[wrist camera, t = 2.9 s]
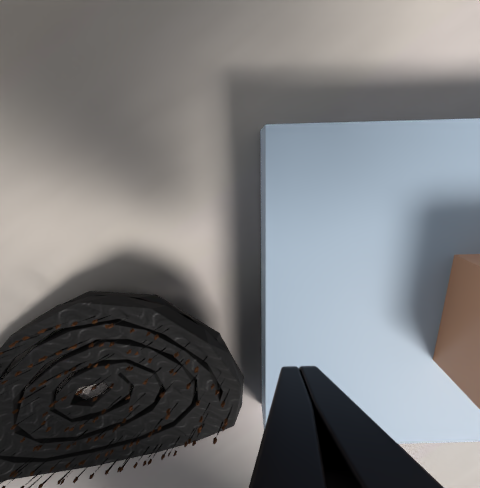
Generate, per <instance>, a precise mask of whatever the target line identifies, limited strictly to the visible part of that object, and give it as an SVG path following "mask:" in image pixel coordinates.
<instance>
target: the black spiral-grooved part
mask: <svg viewBox="0 0 480 488" xmlns="http://www.w3.org/2000/svg"><path fill="white" fill-rule="evenodd" d="M68 302H69V303H68ZM68 302H66V303H64V304H62V305H58V306H56V307H55V308H53V309H51V310H50V311H48V312H46V313H45V314H43V315H42V316H40V317H38V318H37V319H35V320H34V321H32V322H30V323H29V324H27V325H26V326H24V327H23V328H21V329H20V330H18V331H17V332H16V333H14V334H13V335H11V337H10V338H9V339H8V340H7V341H6V342H5V343H4V345H3V346H2V347H1V348H0V379H1V377H2V376H3V375H4V373H5V372H6V370H7V369H8V367H9V366H10V364H11V363H12V361H13V360H14V359H15V358H16V357H17V356H18V355H20V354H21V353H22V352H24V351H25V350H27V349H28V348H30V347H31V346H33V345H34V344H36V343H37V342H39V341H40V340H42V339H43V338H45V337H46V336H47V335H49V334H50V333H52V332H53V331H55V330H57V329H62V328H64V329H62V330H60V332H59V331H58V332H56V333H54V334H53V335H52V336H50V337H49V338H47V339H46V340H45V341H43V342H42V343H40V344H39V345H37V346H36V347H34V348H33V349H32V350H31V351H30V352H29V353H28V354H27V355H26V356H25V357H24V358H23V359H22V360H21V361H20V362H19V363H18V364H17V365H16V366H15V367H14V368H13V369H12V370H11V371H10V372H9V373H8V374H7V375H6V376H5V377H4V378H3V379H2V380H1V382H0V482H1V483H2V482H3V481H6V480H10V479H13V480H14V479H16V478H22V477H28V476H35V475H36V476H37V475H41V474H47V473H53V472H60V471H66V470H70V471H71V470H72V469H78V468H85V467H91V466H96V465H102V464H105V463H110V462H114V463H115V462H116V461H119V460H124V459H126V460H127V459H128V458H129V459H130V458H133V457H138V456H141V457H142V456H143V455H147V454H152V453H155V454H156V453H157V452H159V451H163V450H168V449H170V448H172V449H173V448H174V447H177V446H181V445H184V446H185V447H186V446H187V445H188V444H190V443H192V442H193V444H192V446H194V445H195V444H196V441H198V440H200V439H203V438H205V437H208V436H210V435H213V434H215V433H217V432H218V433H219V432H220V431H222V430H223V431H224V430H225V429H227V428H230V427H232V426H234V424H235V422H236V419H237V416H238V414H239V411H240V408H241V406H242V394H243V375H242V373H241V371H240V369H239V367H238V366H237V364H236V362H235V360H234V359H233V357H232V355H231V353H230V351H229V350H228V348H227V346H226V344H225V342H224V341H223V339H222V337H221V335H220V333H218V332H216V331H215V330H213V329H212V328H210V327H208V326H207V325H205V324H203V323H202V322H200V321H198V320H197V319H195V318H193V317H192V316H190V315H189V314H187V313H185V312H184V311H182V310H180V309H179V308H177V307H175V306H174V305H172V304H170V303H169V302H167V301H165V300H164V299H162V298H161V297H159V296H157V295H145V294H127V293H109V292H92V291H89V292H87V293H85V294H83V295H81V296H79V297H77V298H75V299H72V300H70V301H68ZM97 339H98V340H97ZM95 340H96V341H95ZM90 342H91V343H90ZM88 343H89V344H88ZM71 351H72V352H71ZM69 352H70V353H69ZM67 353H68V354H67ZM65 354H67V355H65ZM62 355H65V356H64V357H62V358H60V359H59V360H57V361H56V362H54V363H53V364H52V365H51V366H49V367H48V368H47V369H46V370H45V371H44V372H43V373H42V374H40V375H39V376H38V377H37V378H36V379H35V380H34V381H33V382H32V383H31V384H30V385H29V387H28V388H27V389H26V390H25V392H24V388H25V386H26V385H27V384H28V383H29V382H30V380H31V379H32V378H33V377H34V376H35V375H36V374H37V373H38V371H39V370H40V369H41V368H42V367H43V366H44V365H45V364H46V363H48V362H50V361H52V360H54V359H56V358H58V357H60V356H62ZM79 369H81V370H79ZM77 370H79V371H78V372H76V373H75V374H74V375H73V376H72V377H71V379H70V380H69V381H68V382H67V383H66V384H65V386H64V387H63V388H62V389H61V390H60V391H59V392H58V394H57V395H55V391H56V389H57V388H58V386H59V385H60V383H61V382H62V381H63V380H64V379H65V378H66V377H67V376H68V375H69V374H70V373H72V372H74V371H77ZM101 382H105V383H106V384H107V385H108V386H109V388H108V389H106V390H107V391H106V390H105V391H106V392H105V391H104V392H105V393H104V392H103V393H104V394H102V393H101V394H100V395H98V396H95V397H93V398H90V399H87V400H84V399H82V398H80V397H79V396H77V395H78V394H79V393H82V391H83V390H84V388H87V386H90V385H93V384H97V383H98V384H97V385H99V384H100V383H101ZM196 382H197V388H198V390H197V392H196V393H195V391H196ZM162 384H163V386H164V387H163V388H162V389H161V386H162ZM97 385H95V386H93V387H92V389H91V390H93V389H95V388H96V386H97ZM132 385H134V387H133V389H132V390H131V391H130V389H131V387H132ZM84 386H86V387H84ZM80 387H84V388H83V389H81V390H80V391H78V392H77V393H76V391H77V389H78V388H80ZM160 389H161V390H160ZM159 390H160V391H159ZM131 392H132V393H131ZM158 392H159V393H158ZM75 393H76V394H75ZM130 393H131V395H129V394H130ZM23 394H24V395H23ZM194 394H195V395H194ZM126 396H127V397H126ZM125 397H126V398H125ZM155 400H156V401H155ZM154 401H155V402H154ZM217 435H218V434H217ZM216 437H217V436H216ZM216 437H215V438H214V440H213V443H214V444H215V443H216V442H217V439H216ZM166 452H167V451H166ZM166 452H165V453H164V455H162V456H161V459H163V458H164V457H165V454H166ZM170 453H171V452H170ZM170 453H169V454H168V456H169V455H170ZM176 453H177V451H176V450H175V453H174V455H173V457H174V456H175V455H176ZM150 456H151V455H150ZM150 456H149V457H150ZM153 457H154V456H153ZM129 459H128V460H129ZM140 459H141V458H140ZM140 459H139V460H140ZM128 460H127V462H128ZM147 460H148V459H147ZM125 462H126V461H125ZM125 462H124V463H125ZM127 462H126V463H127ZM151 462H152V459H150V460H149V462H148V464H150V463H151ZM114 463H113V465H114ZM124 463H123V464H124ZM126 463H125V464H126ZM125 464H124V465H123V466H122V467H119V468H118V471H117V472H119V471H120V472H121V471H122V470H123V467H124V466H125ZM113 465H112V466H113ZM144 465H146V461H144V464H143V466H144ZM112 466H111V467H112ZM136 466H137V462H136V464H135V465H134V468H136ZM111 467H110V468H109V469H108V470H106V472H105V475H106V474H108V471H109V470H110V469H111ZM99 468H100V467H99ZM99 468H98V469H99ZM98 469H97V470H98ZM97 470H96V471H97ZM70 471H69V472H70ZM84 471H85V470H84ZM84 471H83V472H84ZM96 471H95V472H96ZM69 472H68V473H69ZM83 472H82V473H83ZM68 473H67V474H68ZM82 473H81V474H82ZM53 474H54V473H53ZM53 474H52V475H53ZM67 474H66V475H67ZM81 474H80V475H81ZM52 475H51V476H52ZM66 475H65V476H66ZM80 475H79V476H80ZM93 475H94V473H93V474H92V475H90V478H89V479H91V478H92V477H93ZM36 476H35V477H36ZM51 476H50V477H51ZM65 476H64V477H65ZM79 476H78V477H79ZM35 477H33V478H35ZM41 477H42V476H41ZM41 477H40V478H41ZM50 477H49V478H50ZM64 477H63V478H64ZM78 477H76V478H75V479H74V481H73V482H74V483H75V482H76V481H77V480H78ZM33 478H32V479H33ZM40 478H39V479H40ZM49 478H48V479H49ZM63 478H61V479H60V480H59V481H58V484H60V482H61V484H62V483H63V482H64V480H65V479H63ZM32 479H31V480H32ZM39 479H38V480H39ZM48 479H47V480H48ZM62 479H63V480H62ZM31 480H30V481H31ZM38 480H37V481H38ZM47 480H46V481H47ZM61 480H62V481H61ZM30 481H29V482H30ZM37 481H36V482H37ZM46 481H44V482H43V483H42V484H40V485H39V487H38V488H41V487H42V486H43V484H44V483H45V482H46ZM29 482H28V483H29ZM1 483H0V484H1ZM9 483H10V482H9ZM9 483H8V484H9ZM33 484H34V483H33ZM33 484H32V485H33ZM61 484H60V485H61ZM32 485H31V486H32ZM31 486H30V487H31ZM5 487H6V486H3V487H2V488H5ZM30 487H29V488H30ZM21 488H24V486H22V487H21Z"/></svg>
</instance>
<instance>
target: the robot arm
mask: <svg viewBox="0 0 480 488" xmlns="http://www.w3.org/2000/svg"><path fill="white" fill-rule="evenodd" d="M249 488H444V487H443V486H442V485H440V484H439V483H438V482H437V481H436V480H435V479H434V478H433V477H432V476H431V475H430V474H429V473H428V472H427V471H426V470H425V469H424V468H423V467H422V466H421V465H420V464H418V463H417V462H416V461H415V460H414V459H413V458H412V457H411V456H410V455H409V454H408V453H407V452H406V451H405V450H404V449H403V448H402V447H401V446H400V445H399V444H397V443H396V442H395V441H394V440H393V439H392V438H391V437H390V436H389V435H388V434H387V433H386V432H385V431H384V430H383V429H382V428H381V427H380V426H379V425H378V424H376V423H375V422H374V421H373V420H372V419H371V418H370V417H369V416H368V415H367V414H366V413H365V412H364V411H363V410H362V409H361V408H360V407H359V406H358V405H357V404H356V403H354V402H353V401H352V400H351V399H350V398H349V397H348V396H347V395H346V394H345V393H344V392H343V391H342V390H341V389H340V388H339V387H338V386H337V385H336V384H335V383H333V382H332V381H331V380H330V379H329V378H328V377H327V376H326V375H325V374H324V373H323V372H322V371H321V370H320V369H319V368H318V367H316V366H300V367H299V368H298V367H297V366H284V367H282V368H281V371H280V374H279V378H278V382H277V385H276V389H275V393H274V396H273V400H272V404H271V408H270V411H269V415H268V419H267V422H266V426H265V430H264V434H263V437H262V441H261V445H260V448H259V452H258V456H257V459H256V463H255V467H254V470H253V474H252V478H251V482H250V485H249Z"/></svg>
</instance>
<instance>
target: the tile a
mask: <svg viewBox="0 0 480 488" xmlns="http://www.w3.org/2000/svg"><path fill="white" fill-rule="evenodd" d="M433 361H434V362H435V363H436V364H437V365H438V366H439V367H440V368H441V369H442V370H443V371H444V372H445V373H446V374H447V375H448V376H449V377H450V379H451V380H452V381H453V382H454V383H455V384H456V385H457V386H458V387H459V388H460V389H461V390H462V391H463V392H464V393H465V394H466V395H467V396H468V398H469V399H470V400H471V401H472V402H473V403H474V404H475V405H476V406H477V407H478V408H479V409H480V254H458V255H454V258H453V263H452V268H451V273H450V278H449V283H448V288H447V292H446V297H445V302H444V307H443V312H442V317H441V322H440V326H439V331H438V336H437V341H436V346H435V351H434V356H433Z"/></svg>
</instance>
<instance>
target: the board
mask: <svg viewBox="0 0 480 488" xmlns="http://www.w3.org/2000/svg"><path fill="white" fill-rule="evenodd" d="M260 145H261V349H262V413H263V424H264V430H265V426H266V422H267V419H268V415H269V411H270V408H271V404H272V400H273V396H274V393H275V389H276V385H277V382H278V378H279V374H280V371H281V368H282V367H284V366H297V367H298V368H299V367H300V366H316V367H318V368H319V369H320V370H321V371H322V372H323V373H324V374H325V375H326V376H327V377H328V378H329V379H330V380H331V381H332V382H333V383H335V384H336V385H337V386H338V387H339V388H340V389H341V390H342V391H343V392H344V393H345V394H346V395H347V396H348V397H349V398H350V399H351V400H352V401H353V402H354V403H356V404H357V405H358V406H359V407H360V408H361V409H362V410H363V411H364V412H365V413H366V414H367V415H368V416H369V417H370V418H371V419H372V420H373V421H374V422H375V423H376V424H378V425H379V426H380V427H381V428H382V429H383V430H384V431H385V432H386V433H387V434H388V435H389V436H390V437H391V438H392V439H393V440H394V441H395V442H396V443H397V444H402V443H442V442H480V409H479V408H478V407H477V406H476V405H475V404H474V403H473V402H472V401H471V400H470V399H469V398H468V396H467V395H466V394H465V393H464V392H463V391H462V390H461V389H460V388H459V387H458V386H457V385H456V384H455V383H454V382H453V381H452V380H451V379H450V377H449V376H448V375H447V374H446V373H445V372H444V371H443V370H442V369H441V368H440V367H439V366H438V365H437V364H436V363H435V362H434V361H433V356H434V351H435V346H436V341H437V336H438V331H439V326H440V322H441V317H442V312H443V307H444V302H445V297H446V292H447V288H448V283H449V278H450V273H451V268H452V263H453V258H454V255H458V254H480V118H475V119H439V120H403V121H367V122H331V123H295V124H266V125H265V126H264V127H263V128H262V129H261V130H260Z"/></svg>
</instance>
